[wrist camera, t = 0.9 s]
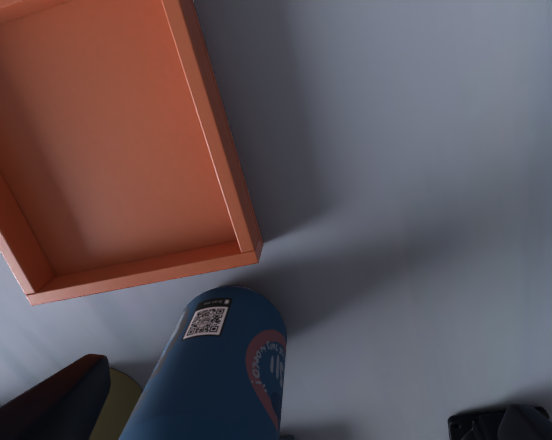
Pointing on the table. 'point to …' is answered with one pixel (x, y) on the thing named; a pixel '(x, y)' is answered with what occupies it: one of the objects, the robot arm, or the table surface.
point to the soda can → (217, 373)
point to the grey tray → (286, 438)
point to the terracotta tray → (114, 149)
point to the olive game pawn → (116, 407)
